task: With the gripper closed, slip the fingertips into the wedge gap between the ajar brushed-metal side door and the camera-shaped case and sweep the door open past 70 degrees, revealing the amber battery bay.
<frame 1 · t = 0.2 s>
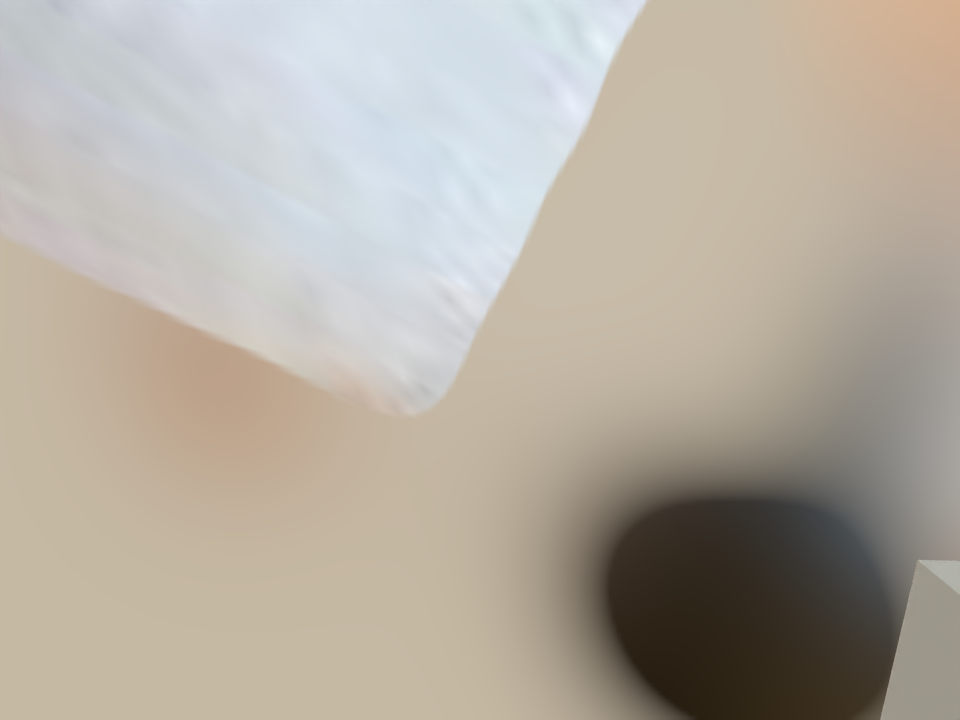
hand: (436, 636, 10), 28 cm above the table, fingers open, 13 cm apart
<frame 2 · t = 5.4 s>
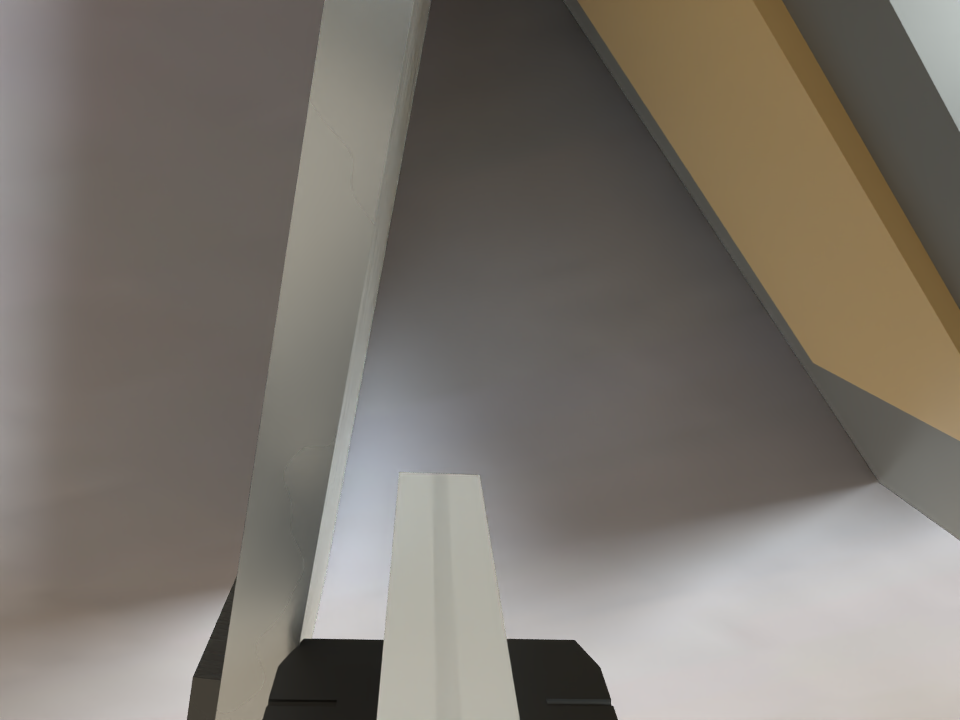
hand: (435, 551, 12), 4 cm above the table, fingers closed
side door: (334, 293, 11), point 4 cm above the table, hinge at 49.3°, touching gripper
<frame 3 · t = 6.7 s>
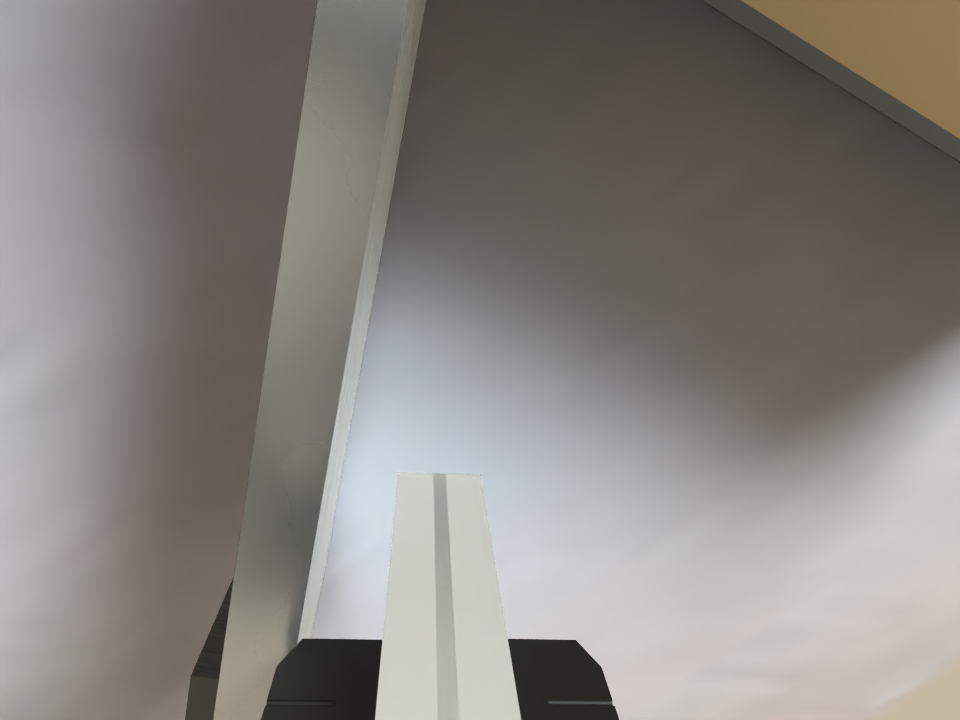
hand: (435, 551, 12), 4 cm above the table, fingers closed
side door: (331, 290, 11), point 4 cm above the table, hinge at 74.3°, touching gripper
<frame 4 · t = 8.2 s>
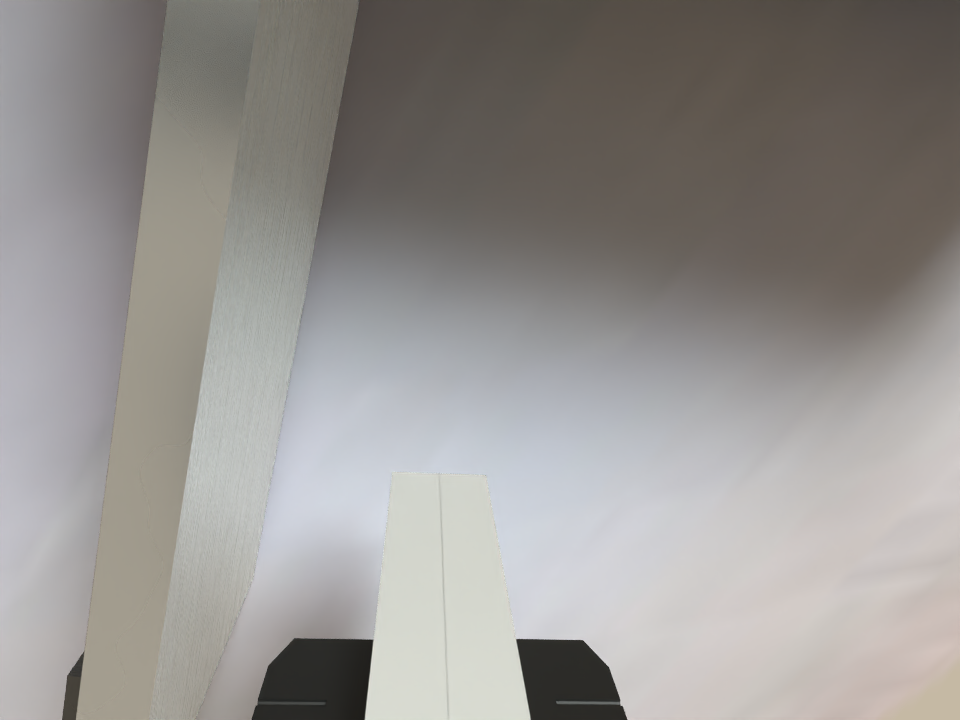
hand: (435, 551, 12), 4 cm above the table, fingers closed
side door: (237, 290, 11), point 4 cm above the table, hinge at 92.2°
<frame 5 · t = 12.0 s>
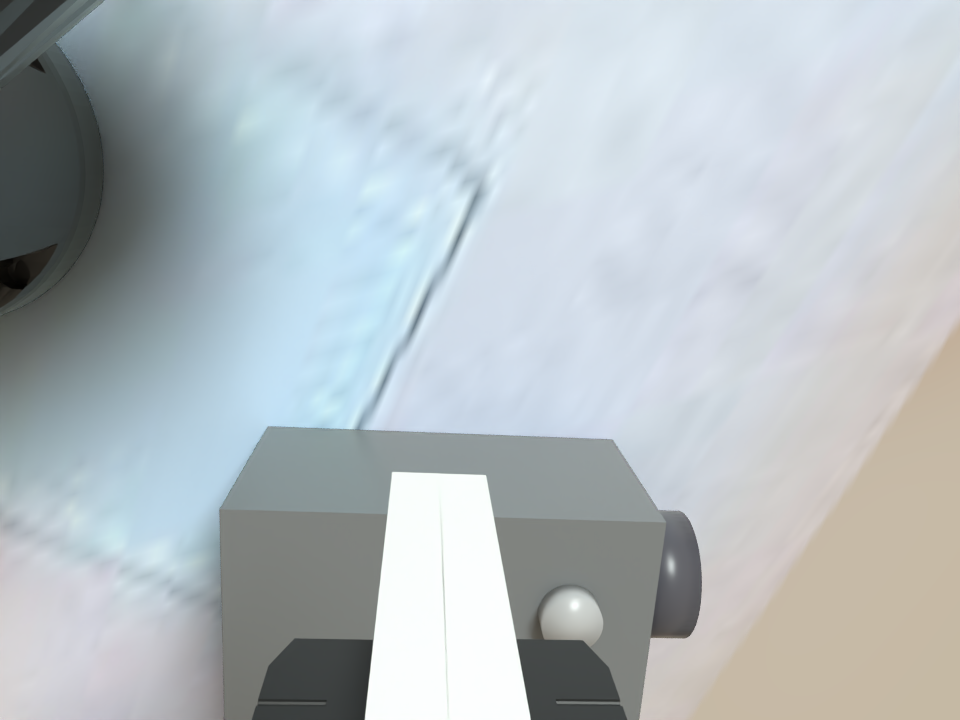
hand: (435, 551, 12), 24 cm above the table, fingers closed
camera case: (437, 543, 39), on the table
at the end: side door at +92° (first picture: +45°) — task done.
